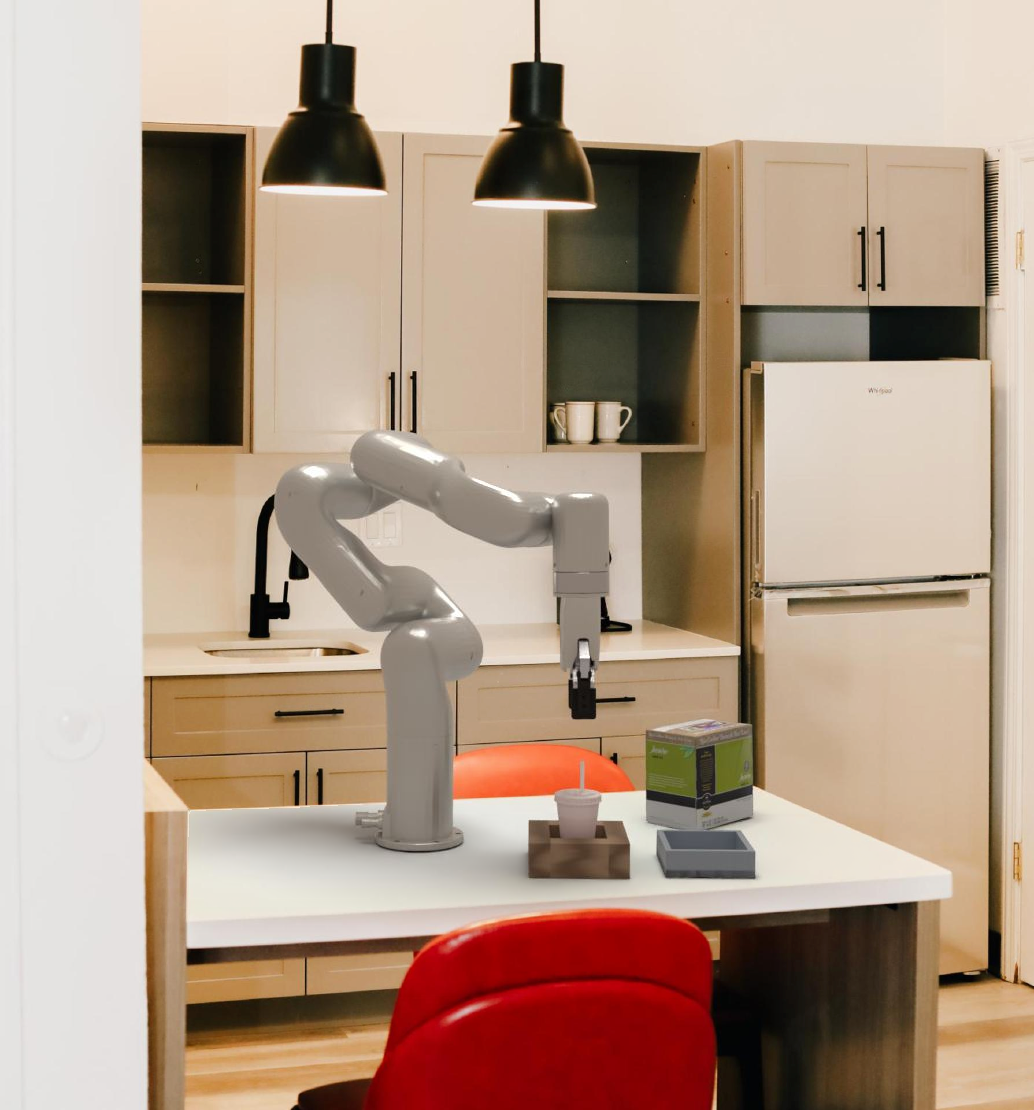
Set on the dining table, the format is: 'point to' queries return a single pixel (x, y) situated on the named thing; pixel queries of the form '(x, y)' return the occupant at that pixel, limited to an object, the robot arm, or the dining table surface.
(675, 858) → the tray
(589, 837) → the smoothie
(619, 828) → the socket holder
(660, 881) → the dining table surface
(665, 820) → the tea box
